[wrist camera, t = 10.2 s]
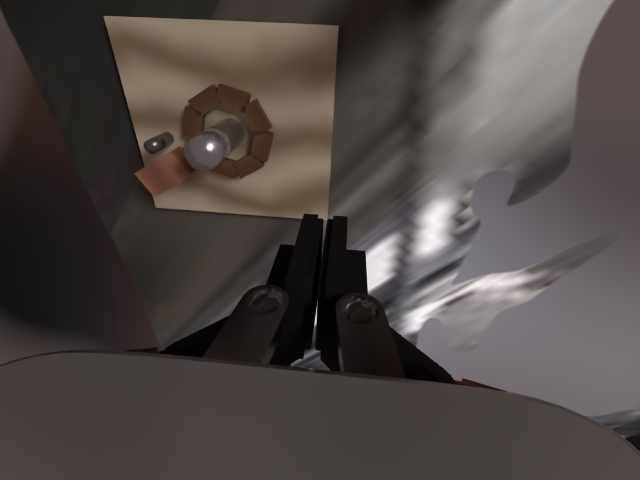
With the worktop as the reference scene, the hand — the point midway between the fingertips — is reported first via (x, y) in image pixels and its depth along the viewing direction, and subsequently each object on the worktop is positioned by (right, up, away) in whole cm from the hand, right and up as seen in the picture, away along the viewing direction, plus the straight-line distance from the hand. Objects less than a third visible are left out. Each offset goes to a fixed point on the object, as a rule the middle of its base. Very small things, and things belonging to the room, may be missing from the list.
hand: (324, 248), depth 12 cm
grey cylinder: (-13, +12, +22) cm, 28 cm away
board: (-10, +13, +23) cm, 28 cm away
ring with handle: (-12, +11, +22) cm, 28 cm away
